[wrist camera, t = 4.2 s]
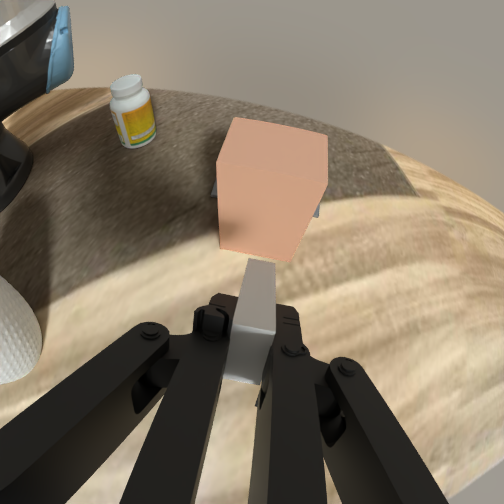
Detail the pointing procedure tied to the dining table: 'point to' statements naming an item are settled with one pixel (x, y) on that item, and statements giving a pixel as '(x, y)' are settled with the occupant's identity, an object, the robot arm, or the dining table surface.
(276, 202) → the terracotta block
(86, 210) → the dining table surface
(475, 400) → the dining table surface
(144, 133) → the supplement bottle
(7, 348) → the mug
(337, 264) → the dining table surface
